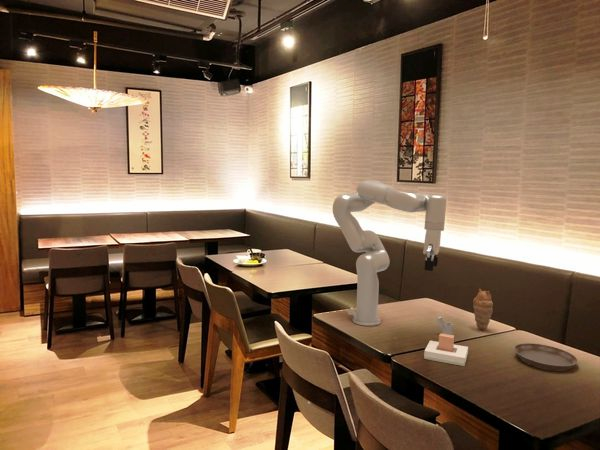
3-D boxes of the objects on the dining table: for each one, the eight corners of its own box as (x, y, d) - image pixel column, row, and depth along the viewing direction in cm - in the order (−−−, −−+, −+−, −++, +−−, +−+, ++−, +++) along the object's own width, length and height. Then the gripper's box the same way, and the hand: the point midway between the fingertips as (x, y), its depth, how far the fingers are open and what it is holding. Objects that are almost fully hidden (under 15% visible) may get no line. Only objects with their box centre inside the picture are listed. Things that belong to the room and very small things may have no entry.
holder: (424, 358, 170) (424, 350, 170) (429, 347, 181) (430, 340, 181) (464, 366, 165) (465, 358, 164) (467, 354, 175) (468, 346, 175)
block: (437, 354, 173) (439, 335, 172) (439, 351, 175) (440, 333, 175) (452, 356, 171) (453, 338, 170) (453, 353, 173) (454, 335, 172)
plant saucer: (576, 358, 175) (577, 350, 174) (577, 379, 157) (578, 369, 157) (516, 347, 185) (517, 339, 185) (510, 365, 167) (511, 356, 167)
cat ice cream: (467, 328, 206) (470, 288, 204) (480, 325, 210) (483, 286, 208) (483, 334, 198) (486, 293, 196) (496, 332, 202) (499, 291, 200)
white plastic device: (450, 333, 199) (451, 315, 198) (452, 334, 197) (454, 316, 196) (435, 334, 197) (436, 315, 196) (437, 335, 195) (439, 317, 195)
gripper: (428, 223, 195) (425, 263, 198) (420, 227, 180) (417, 270, 182) (447, 224, 192) (443, 265, 194) (440, 229, 177) (436, 273, 179)
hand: (430, 268), depth 188 cm, fingers open, 9 cm apart
